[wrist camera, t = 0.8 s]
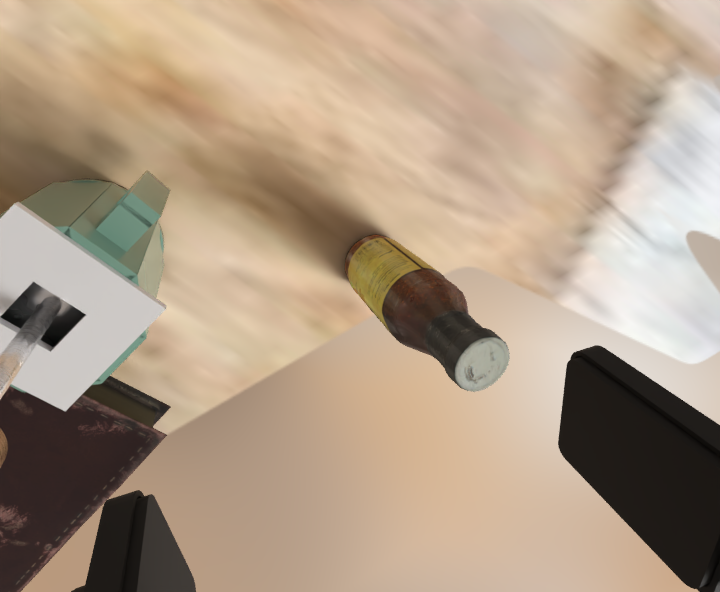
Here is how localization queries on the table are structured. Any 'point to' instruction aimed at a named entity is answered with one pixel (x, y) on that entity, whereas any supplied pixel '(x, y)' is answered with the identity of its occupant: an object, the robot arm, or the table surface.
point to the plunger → (32, 334)
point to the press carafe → (84, 277)
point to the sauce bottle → (425, 311)
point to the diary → (65, 467)
